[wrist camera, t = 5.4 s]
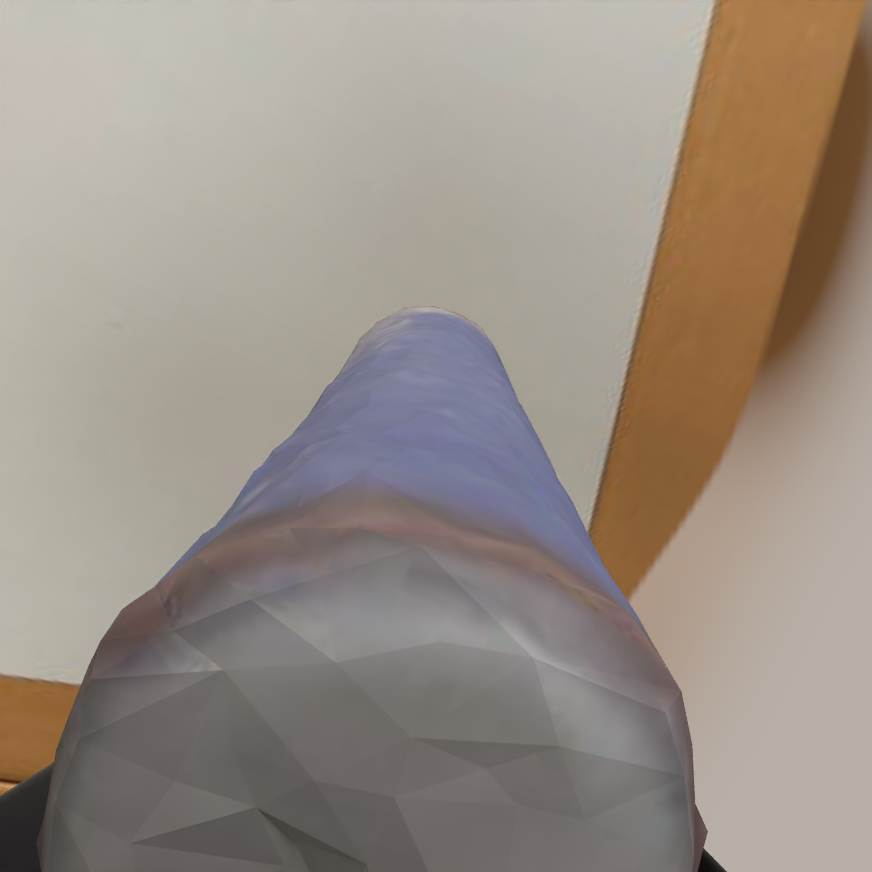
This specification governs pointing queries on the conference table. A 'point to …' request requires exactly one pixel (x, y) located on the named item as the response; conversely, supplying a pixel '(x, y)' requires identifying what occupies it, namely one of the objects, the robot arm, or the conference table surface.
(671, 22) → the conference table surface
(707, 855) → the robot arm
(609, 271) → the conference table surface
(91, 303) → the conference table surface
